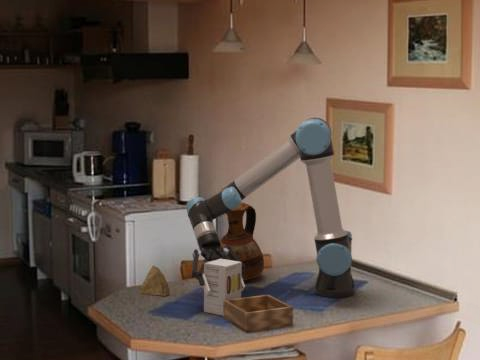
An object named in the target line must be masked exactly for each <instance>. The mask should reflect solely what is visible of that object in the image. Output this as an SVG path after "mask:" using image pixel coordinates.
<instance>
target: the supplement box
mask: <svg viewBox="0 0 480 360" xmlns="http://www.w3.org/2000/svg"><path fill="white" fill-rule="evenodd" d="M241 272H242V262H239V261H232V260H227V259H218V260H214V261H211V262H210V261H208V262H207V263H204V271H203V274H205V277H206V280H207V282H208V285H209V288H210V292H209V294H208V295H206V294H205V291H204V290H203V312H205V313H210V314H214V315H217V316H218V315H219V316H223V300H230V299H238V298H242V291H241Z"/></svg>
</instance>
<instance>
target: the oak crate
mask: <svg viewBox="0 0 480 360" xmlns="http://www.w3.org/2000/svg"><path fill="white" fill-rule="evenodd" d="M222 319H224V320H225V321H227V322H228V321H229V322H228V323H230V324H231V325H233V326H235V327H237V329H239V330H241V331H243V333H253V332H257V331H266V330H273V329H279V328H280V329H281V328H285V327H286V328H287V327H292V326H294V306H291V305H290V304H288V303H286V302H284V301H282V300H280V299H278V298H277V297H274V296H272V295H270V294H263V295H256V296H255V295H253V296H248V297H247V296H246V297H241V298H238V299H230V300H223V317H222Z"/></svg>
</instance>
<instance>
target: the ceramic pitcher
mask: <svg viewBox="0 0 480 360" xmlns="http://www.w3.org/2000/svg"><path fill="white" fill-rule="evenodd" d="M225 214H226V216H227V223H228V228H227V232H226V234H225V235H223V236H222V237H221V239H219V240H220V243H221V247H222V248H227V247H228V246H230V247H231V249H232V251H233V252H234V253H235V255H236V256H237V257H238V258H239V259H240V260H241V261H242V263H243V264H244V265H245V266H246V268H245V269H244V271H243V272H242V273H243V276H244V280H243V281H248V280H251V279H254V278H256V277H258V276H260V275H261V274H262V273H263V272H264V269H265V259H264V254H263V253H262V250H261V247H260V245H259V244H258V243H257V241H256V240H255V238H254V232H255V228H256V223H257V221H256V220H257V212H256V209H255V208H254V207H253V206H252V205H250V204H249V203H246V202H242V204H241V205H240V206H238V207H237V208H235V209H234V210H231V211H229V212H227V213H225ZM244 215H245V216H246V217H245V225H243V224H244ZM223 253H224V252H223ZM224 254H225V253H224ZM225 255H226V254H225ZM226 256H227V255H226ZM227 257H228V256H227ZM221 258H223V257H221ZM228 258H229V257H228ZM229 259H230V258H229ZM230 260H231V259H230Z"/></svg>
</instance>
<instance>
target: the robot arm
mask: <svg viewBox="0 0 480 360" xmlns="http://www.w3.org/2000/svg"><path fill="white" fill-rule="evenodd" d="M332 138H333V137H332V128H331V126H330V125H329V123H328V122H327V121H326V120H324V119H323V118H320V117H310V118H308V119H306V120H304V121H303V122H301V123H300V125H298V127H297V129H296V130H295V131H294V132H292V134H290V135H289V138H288V140H286V141H285V142H284V143H283V144H282V145H280V146H279V147H277V148H276V149H274V150H273V151H271V153H269V154H268V155H266V157H264V158H262V159H261V160H260V161H259V162H256V164H254V165H253V166H252V167H250V168H249V169H248V170H247V171H245V172H244V173H242V174H241V175H239V176H238V177H237V178H236V179H234V180H233V181H231V182H229V184H227V185H226V186H224V187H223V188H222V189H221V190H220V191H218V192H217V193H216V194H214V195H212V196H211V197H209V198H207V199H205V198H204V197H200V196H197V197H195V198H194V197H193V198H191V199H189V200H188V201H187V202H186V205H185V208H186V209H185V210H186V212H187V217H188V219H189V222H190V225H191V227H192V231H193V233H194V236H195V239H196V242H197V245H198V246H197V247H198V248H199V250H198V249H197V248H195V249H194V250H193V252H192V257H193V258H192V259H193V260H192V261H193V262H192V266H191V278H195V279H196V280H197V281H198V283H199V286H200V287H202V288H203V292H204V291H205V294H206V295H208V294H209V292H210V288H209V285H208V282H207V280H206V277H205V274H204V263H207V262H211V261H214V260H218V259H227V260H230V259H231V260H232V261H239V262H242V261H241V260H240V259H239V258H238V257H237V256H236V255H235V253H234V252H233V251H232V249H231V247H230V246H228V247H227V248H222V247H221V243H220V240H221V239H220V238H219V235H218V232H217V229H216V227H215V224H214V220H216V219H218V218H219V217H222V216H223V215H225V214H226V213H227V212H229V211H231V210H234V209H235V208H237V207H238V206H240V205H241V204H242V203H243V200H245V199H246V198H247V197H248V196H250V195H251V194H253V193H254V192H255V191H256V190H258V189H259V188H261V187H262V186H264V185H265V184H266V183H268V182H269V181H271V180H272V179H273V178H274V177H276V176H277V175H279V174H281V172H283V171H284V170H286V169H287V168H288V167H290V166H291V165H292V164H293V163H295V162H297V161H298V160H299V159H300V162H301V163H302V164H304V165H305V167H306V172H307V173H306V174H307V178H308V183H309V190H310V195H311V202H312V208H313V212H314V214H313V215H314V218H315V225H316V230H317V231H316V234H315V236H314V244H315V250H316V263H317V265H318V272H317V275H316V279H315V281H314V285H313V293H314V294H315V293H316V295H317V294H318V296H320V295H321V297H325V296H326V298H348V297H352V296H354V295H356V285H355V282H354V277H353V274H352V262H353V257H352V241H353V237H352V235H353V234H352V232H351V231H348V230H344V228H343V226H342V225H343V224H342V219H341V214H340V207H339V201H338V196H337V190H336V184H335V178H334V173H333V166H332V160H333V158H334V156H335V151H334V146H333V139H332ZM223 252H224V253H225V254H226V255H227V256H228V257H229V258H230V259H229V258H228V257H227V256H226V255H225V254H224V253H223ZM200 256H201V257H202V258H204V259H203V262H202V263H201V267H200V268H199V270H198V264H199V258H200ZM221 257H223V258H221ZM245 268H246V266H245V265H244V264H243V263H242V272H243V271H244V269H245ZM242 272H241V292H243V291H244V289H245V287H246V285H245V282H244V281H245V280H244V276H243V273H242Z"/></svg>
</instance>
